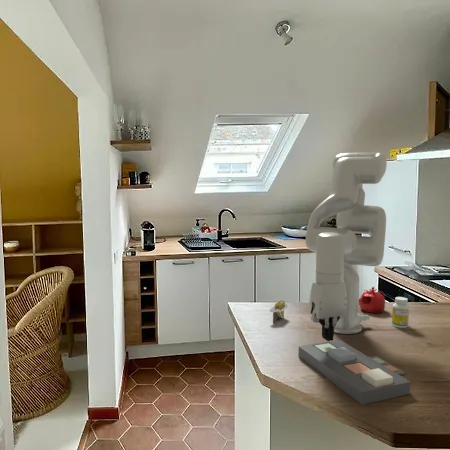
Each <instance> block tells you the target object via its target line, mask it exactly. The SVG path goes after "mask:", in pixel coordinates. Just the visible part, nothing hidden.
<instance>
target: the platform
mask: <svg viewBox="0 0 450 450" xmlns="http://www.w3.org/2000/svg"><path fill="white" fill-rule="evenodd" d="M288 307H289V306H288V304H287V303H286V301H285V300H281V299H280V300H278V301H277V302H276V303H274V305H273V307H271V308H270V309H269V312H271V313H272V323H274V322H276V321H277V320H279V319H280V318H281V319H283V318H284V319H285V310H286V308H288Z"/></svg>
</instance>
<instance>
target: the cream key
mask: <svg viewBox="0 0 450 450" xmlns="http://www.w3.org/2000/svg"><path fill="white" fill-rule="evenodd" d="M362 379H363V380H365V381H366V382H368V383H369V384H370V385H372V386H373V387H375V388H377V387H382V386H386V385H391V384H393V377H392V376H390V375H389V374H387V373H385V372H384V371H382V370H381V369H379V368H377V369H372V370H367V371H362Z"/></svg>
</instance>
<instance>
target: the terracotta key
mask: <svg viewBox="0 0 450 450" xmlns="http://www.w3.org/2000/svg"><path fill="white" fill-rule="evenodd" d="M344 367H345V368H347V369H348V370H350V371H351V372H353V373H354V374H356V375H358V374H362V371H367V370H371V369H369V368H368V367H366V366H365V365H363V364H361V363H355V364H350V365H344Z"/></svg>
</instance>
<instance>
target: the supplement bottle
mask: <svg viewBox="0 0 450 450" xmlns="http://www.w3.org/2000/svg"><path fill="white" fill-rule="evenodd" d="M408 300H409V299H408V298H407V297H402V296H396V297H395V299H394V302H395V303H393V304H392V309H391V311H392V313H391V324H392V326H393V327H395V328H399V329H405V328H408V327H409V321H410V305H409V304H408V302H409V301H408Z"/></svg>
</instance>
